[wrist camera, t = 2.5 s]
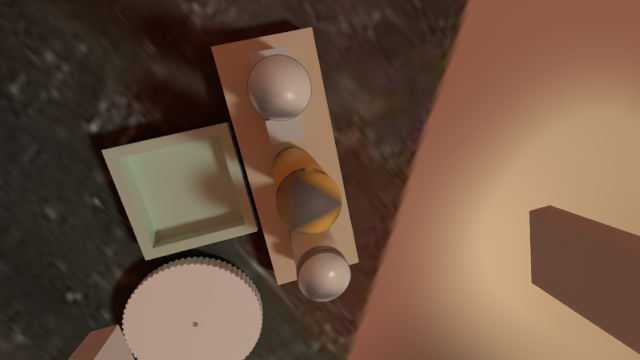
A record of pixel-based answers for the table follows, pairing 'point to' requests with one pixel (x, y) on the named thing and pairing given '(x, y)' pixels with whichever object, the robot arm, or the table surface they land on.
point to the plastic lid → (193, 312)
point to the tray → (183, 189)
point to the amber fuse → (304, 192)
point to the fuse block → (282, 132)
